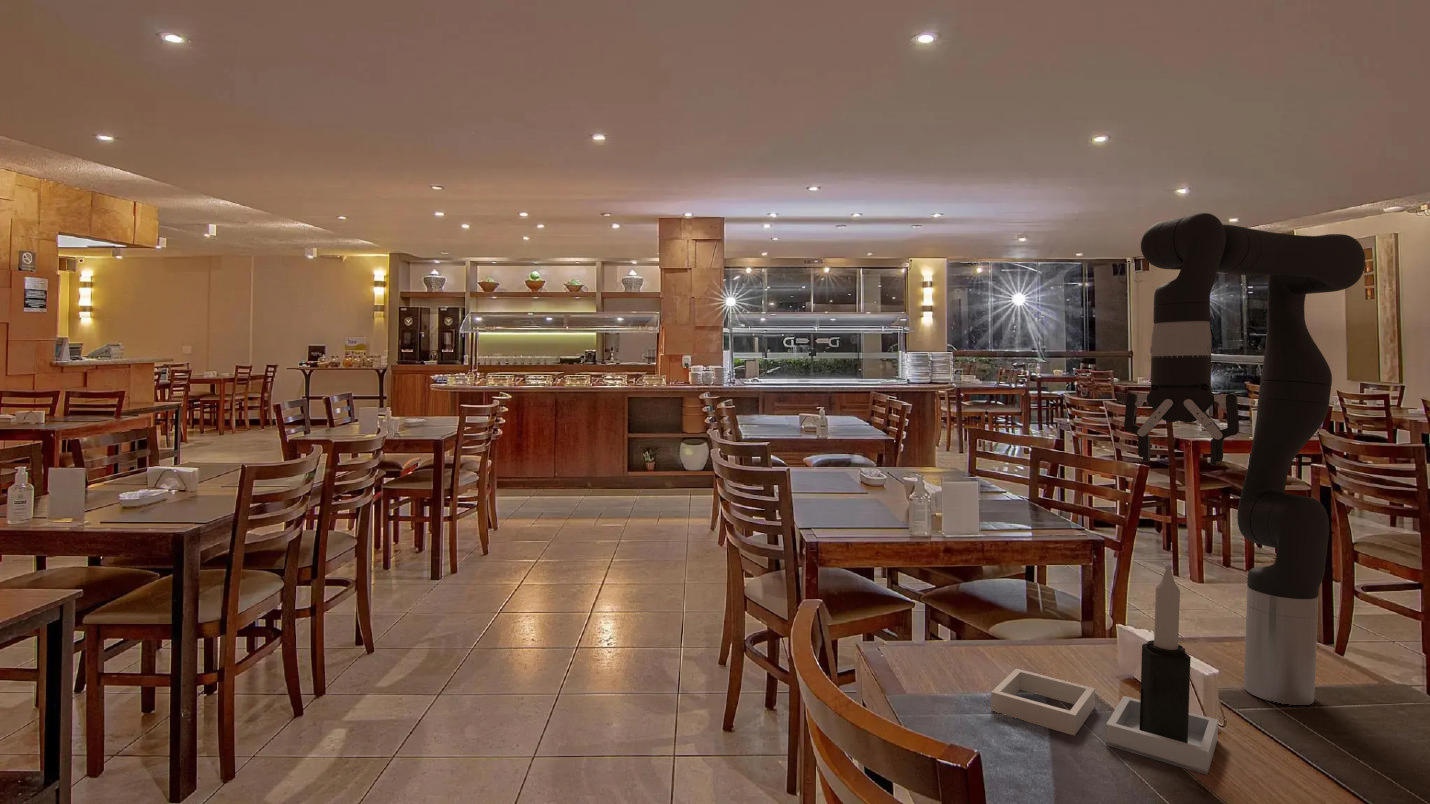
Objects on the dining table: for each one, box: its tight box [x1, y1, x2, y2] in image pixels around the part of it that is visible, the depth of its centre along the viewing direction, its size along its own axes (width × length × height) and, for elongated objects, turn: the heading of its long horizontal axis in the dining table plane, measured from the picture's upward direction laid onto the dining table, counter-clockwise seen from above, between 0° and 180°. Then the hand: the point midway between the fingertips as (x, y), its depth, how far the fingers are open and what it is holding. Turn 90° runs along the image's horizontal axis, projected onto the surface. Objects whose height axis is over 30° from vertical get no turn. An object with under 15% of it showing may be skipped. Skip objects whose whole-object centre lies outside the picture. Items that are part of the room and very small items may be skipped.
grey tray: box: [1105, 695, 1219, 776], centre depth 104 cm, size 12×12×3 cm
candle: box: [1139, 564, 1192, 743], centre depth 104 cm, size 5×5×25 cm
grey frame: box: [990, 668, 1096, 736], centre depth 114 cm, size 12×12×3 cm
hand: (1179, 462), depth 109 cm, fingers open, 8 cm apart
